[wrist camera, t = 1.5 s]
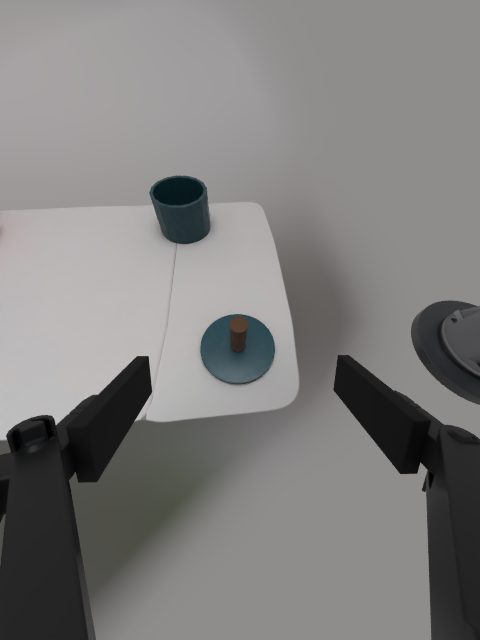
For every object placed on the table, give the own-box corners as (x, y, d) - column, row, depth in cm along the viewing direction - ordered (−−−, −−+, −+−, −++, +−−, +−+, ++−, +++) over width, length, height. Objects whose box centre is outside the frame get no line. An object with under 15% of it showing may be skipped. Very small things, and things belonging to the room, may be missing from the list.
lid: (270, 317, 44) (278, 288, 36) (277, 384, 38) (289, 367, 30) (203, 317, 44) (197, 288, 36) (198, 385, 37) (189, 368, 29)
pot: (211, 213, 61) (207, 176, 53) (208, 244, 54) (204, 207, 46) (165, 212, 60) (155, 175, 52) (158, 243, 54) (144, 206, 46)
